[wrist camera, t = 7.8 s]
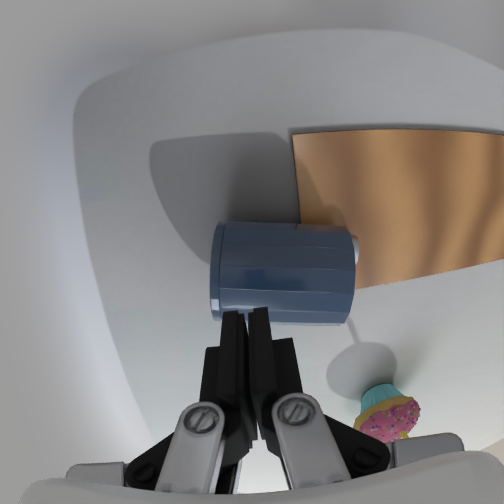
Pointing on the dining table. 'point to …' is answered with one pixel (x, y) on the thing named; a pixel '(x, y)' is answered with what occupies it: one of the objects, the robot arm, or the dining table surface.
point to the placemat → (406, 197)
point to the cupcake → (386, 413)
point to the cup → (283, 272)
